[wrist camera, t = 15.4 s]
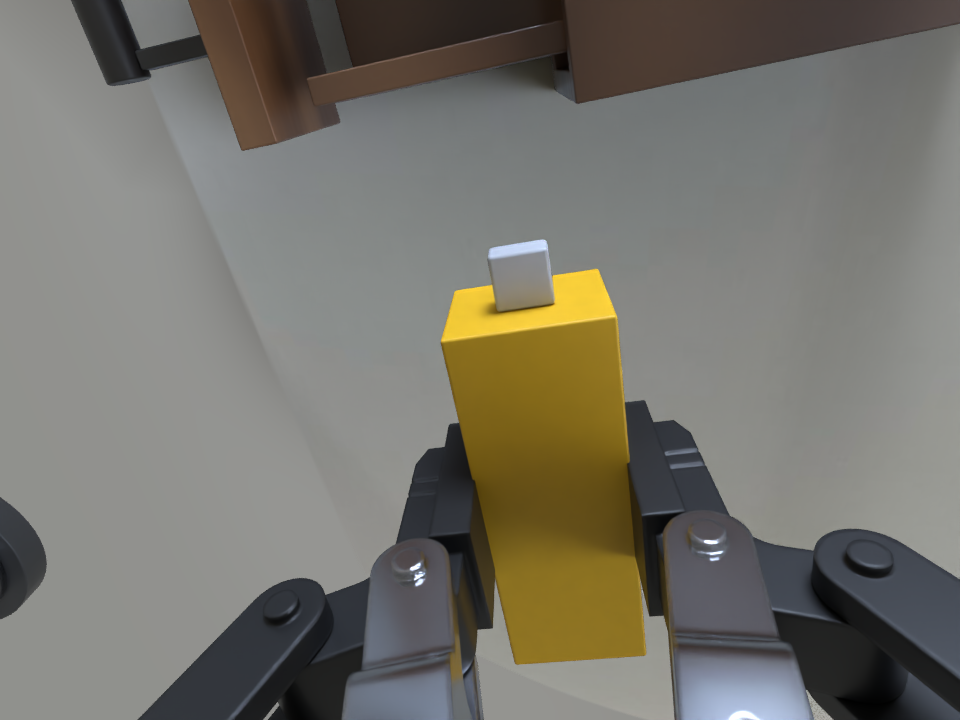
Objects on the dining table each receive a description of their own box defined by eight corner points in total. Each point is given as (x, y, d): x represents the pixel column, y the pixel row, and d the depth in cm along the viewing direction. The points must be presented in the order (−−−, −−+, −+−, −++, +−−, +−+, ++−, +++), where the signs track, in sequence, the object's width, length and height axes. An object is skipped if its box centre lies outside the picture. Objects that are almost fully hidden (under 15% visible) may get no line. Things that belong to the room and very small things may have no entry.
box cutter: (627, 569, 15) (646, 657, 12) (515, 579, 15) (514, 665, 13) (593, 215, 11) (612, 253, 9) (443, 240, 11) (426, 281, 9)
